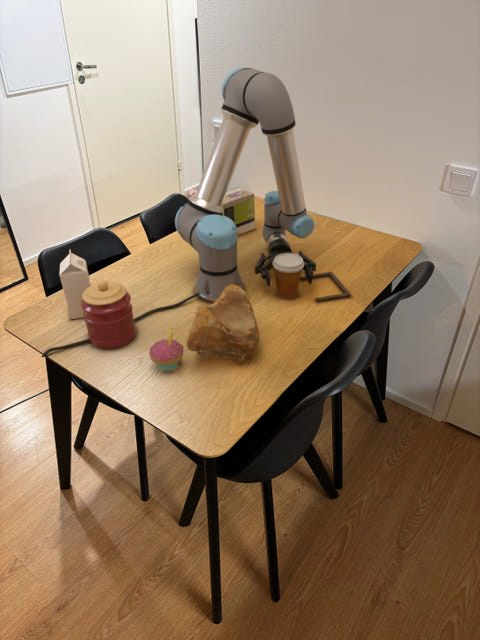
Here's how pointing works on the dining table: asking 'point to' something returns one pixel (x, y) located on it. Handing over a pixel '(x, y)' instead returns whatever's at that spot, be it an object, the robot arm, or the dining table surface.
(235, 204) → the tea box
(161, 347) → the cupcake
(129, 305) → the kitchen canister
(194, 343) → the rough brown rock
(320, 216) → the dining table surface
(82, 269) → the milk carton
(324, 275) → the walnut frame
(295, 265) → the disposable coffee cup
